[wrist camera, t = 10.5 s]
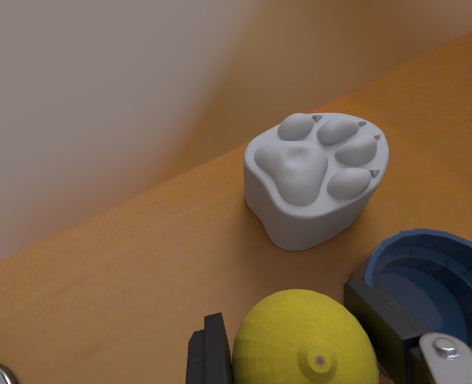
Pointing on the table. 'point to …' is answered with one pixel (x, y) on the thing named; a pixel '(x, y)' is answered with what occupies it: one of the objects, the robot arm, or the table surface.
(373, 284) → the bowl
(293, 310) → the lemon
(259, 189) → the paw print block
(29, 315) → the table surface
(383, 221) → the table surface
